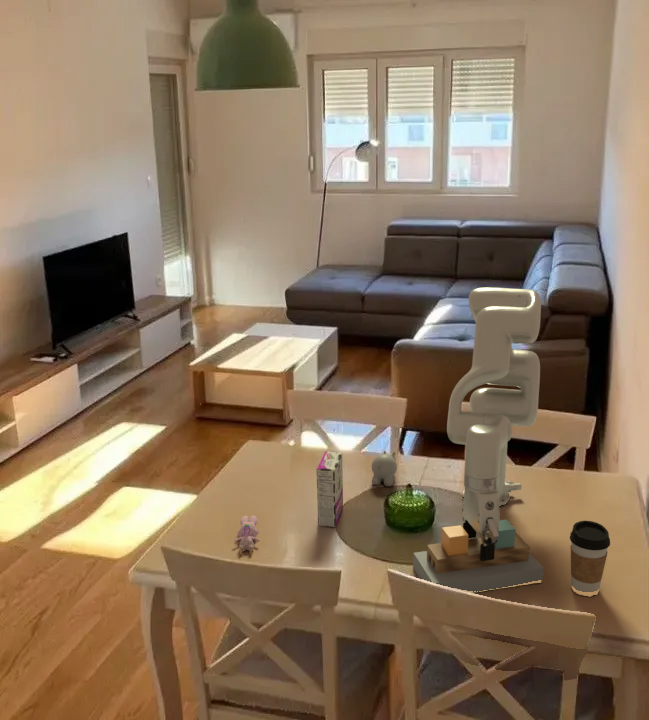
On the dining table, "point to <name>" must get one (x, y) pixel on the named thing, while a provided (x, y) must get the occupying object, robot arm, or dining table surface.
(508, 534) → the teal cube
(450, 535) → the orange cube
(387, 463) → the round bodied animal figurine
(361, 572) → the dining table surface
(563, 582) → the dining table surface
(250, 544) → the rabbit figure
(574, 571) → the coffee cup
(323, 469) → the candy bar box
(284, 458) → the dining table surface
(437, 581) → the dock
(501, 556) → the brown wooden block
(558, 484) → the dining table surface
